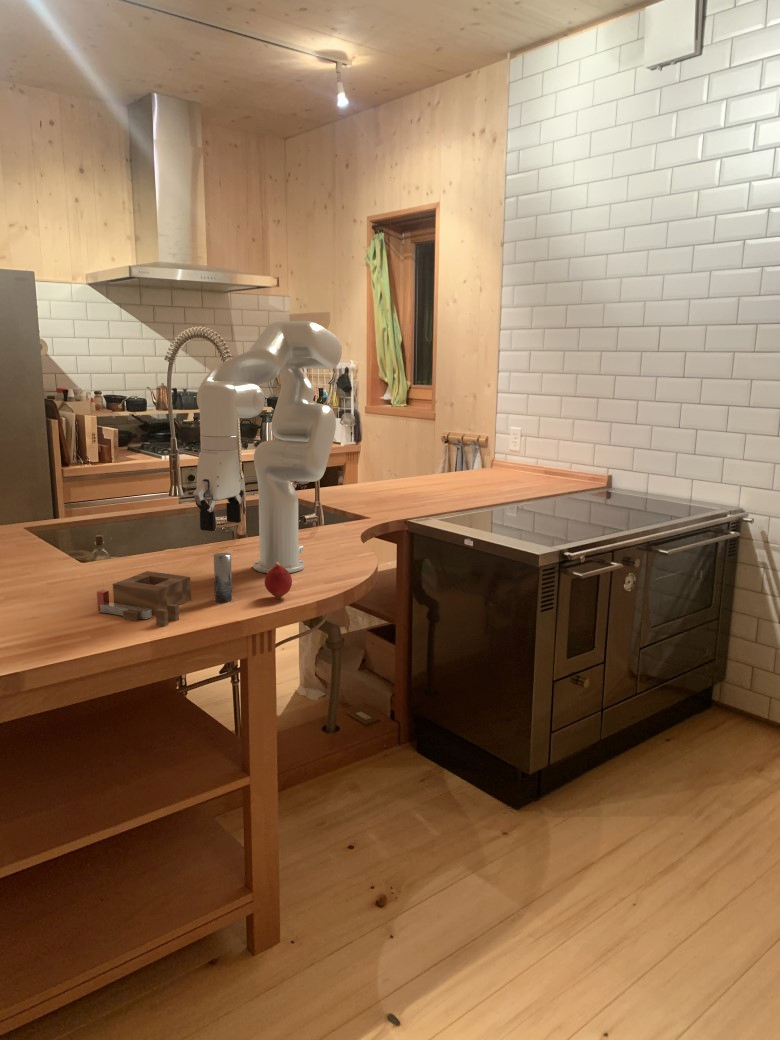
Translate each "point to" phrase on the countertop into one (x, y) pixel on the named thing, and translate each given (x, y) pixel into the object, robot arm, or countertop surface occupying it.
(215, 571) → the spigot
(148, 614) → the lock pin
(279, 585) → the onion
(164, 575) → the dock
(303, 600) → the countertop surface
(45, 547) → the countertop surface
